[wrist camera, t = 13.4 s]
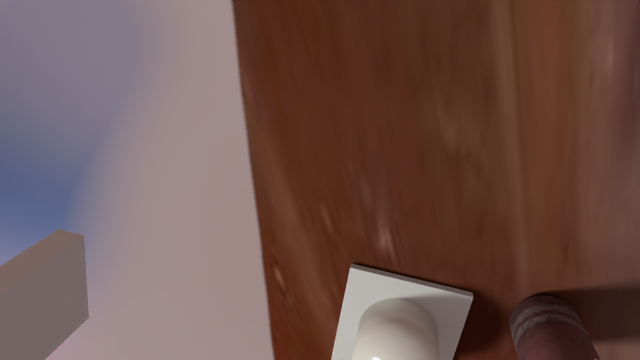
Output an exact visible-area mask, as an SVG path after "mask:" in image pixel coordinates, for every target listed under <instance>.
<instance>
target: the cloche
mask: <svg viewBox="0 0 640 360" xmlns="http://www.w3.org/2000/svg"><path fill="white" fill-rule="evenodd" d="M352 360H439V341H438V329H437V325H436V323H435V321H434V319H433V317H432V316H431V315H430V314H429V312H427V311H426V310H425V309H424V308H423V307H421V306H420V305H418V304H416V303H414V302H411V301H408V300H404V299H385V300H381V301H378V302H376V303H374V304H372V305H371V306H370V307H368V308H367V309H366V310H365V311H364V313H363V314H362V316H361V318H360V321H359V325H358V330H357V335H356V341H355V346H354V351H353V356H352Z"/></svg>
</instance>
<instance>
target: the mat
mask: <svg viewBox="0 0 640 360" xmlns="http://www.w3.org/2000/svg"><path fill="white" fill-rule="evenodd" d="M385 299H404V300H408V301H411V302H414V303H416V304H418V305H420V306H421V307H423V308H424V309H425V310H426V311H427V312H429V314H430V315H431V316H432V317H433V319H434V321H435V323H436V325H437V329H438V341H439V360H453V357H454V354H455V351H456V348H457V345H458V342H459V339H460V336H461V333H462V330H463V327H464V324H465V321H466V318H467V315H468V312H469V309H470V306H471V303H472V300H473V293H472V292H468V291H464V290H460V289H456V288H451V287H447V286H443V285H439V284H435V283H431V282H426V281H422V280H418V279H414V278H410V277H405V276H401V275H397V274H393V273H389V272H385V271H380V270H376V269H372V268H368V267H364V266H360V265H355V264H351V267H350V271H349V276H348V281H347V286H346V291H345V295H344V300H343V305H342V310H341V315H340V320H339V324H338V329H337V334H336V339H335V344H334V348H333V353H332V358H331V360H352V356H353V351H354V346H355V341H356V335H357V330H358V325H359V321H360V318H361V316H362V314H363V313H364V311H365V310H366V309H367V308H368V307H370V306H371V305H372V304H374V303H376V302H378V301H381V300H385Z"/></svg>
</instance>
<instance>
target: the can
mask: <svg viewBox="0 0 640 360" xmlns="http://www.w3.org/2000/svg"><path fill="white" fill-rule="evenodd" d="M509 326H510V330H511V334H512V337H513V341H514V345H515V348H516V352H517V356H518V359H519V360H595V359H597V360H600V358H599V356H598V354H597V352H596V350H595V348H594V346H593V344H592V342H591V340H590V338H589V336H588V334H587V332H586V330H585V328H584V326H583V324H582V322H581V320H580V318H579V316H578V314H577V312H576V311H575V310H574V308H573V307H572V306H571V305H570V304H569V303H567V302H565V301H564V300H562V299H560V298H556V297H553V296H546V295H538V296H534V297H530V298H528V299H526V300H524V301H522V302H521V303H520V304H519V305H518V306H517V307H516V308H515V309H514V310H513V312H512V314H511V316H510V323H509Z"/></svg>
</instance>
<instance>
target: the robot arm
mask: <svg viewBox="0 0 640 360" xmlns="http://www.w3.org/2000/svg"><path fill="white" fill-rule="evenodd" d="M88 318H89V316H88V299H87V282H86V267H85V250H84V236H83V235H79V234H76V233H71V232H67V231H63V230H56V231H55V232H53V233H51V234H50V235H48V236H47V237H45V238H44V239H42V240H40V241H39V242H38V243H36V244H34V245H33V246H31V247H29V248H28V249H26V250H25V251H23V252H22V253H20V254H19V255H17V256H16V257H14V258H12V259H11V260H9V261H8V262H6V263H4V264H3V265H1V266H0V360H45V359H46V358H47V357H48V356H49V355H50V354H51V353H52V352H53V351H54V350H55V349H56V348H57V347H59V346H60V345H61V343H63V342H64V341H65V340H66V339H67V338H68V337H69V336H70V335H71V334H72V333H73V332H74V331H75V330H76V329H77V328H78V327H79V326H80V325H81V324H82V323H84V321H86V320H87V319H88ZM595 360H597V359H595Z"/></svg>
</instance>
